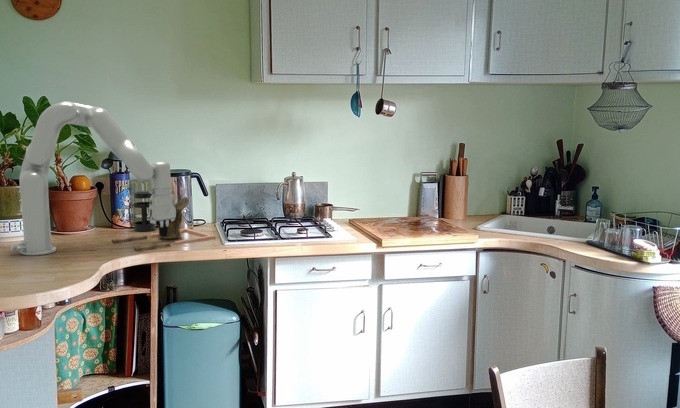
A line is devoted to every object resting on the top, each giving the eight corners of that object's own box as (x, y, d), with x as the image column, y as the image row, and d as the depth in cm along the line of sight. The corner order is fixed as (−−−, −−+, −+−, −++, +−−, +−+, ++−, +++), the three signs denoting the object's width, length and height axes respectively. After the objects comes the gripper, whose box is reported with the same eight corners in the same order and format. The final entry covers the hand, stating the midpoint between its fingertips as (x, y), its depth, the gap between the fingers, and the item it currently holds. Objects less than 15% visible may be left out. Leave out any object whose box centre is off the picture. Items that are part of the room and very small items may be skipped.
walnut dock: (137, 251, 262) (137, 248, 262) (111, 242, 278) (111, 239, 278) (170, 246, 272) (170, 243, 271) (143, 237, 287) (143, 234, 287)
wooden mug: (175, 241, 278) (177, 197, 276) (153, 236, 286) (156, 193, 284) (191, 239, 285) (194, 196, 283) (170, 234, 293) (173, 193, 291)
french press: (157, 227, 309) (155, 176, 306) (157, 231, 300) (154, 179, 297) (130, 228, 307) (128, 177, 303) (129, 232, 298) (126, 180, 294)
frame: (177, 245, 274) (177, 242, 274) (150, 236, 289) (150, 233, 289) (215, 238, 286) (215, 235, 286) (187, 230, 302) (187, 228, 301)
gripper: (149, 194, 270) (151, 240, 273) (182, 191, 280) (184, 234, 283) (140, 192, 276) (142, 237, 279) (173, 189, 286) (175, 232, 289)
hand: (163, 236), depth 281 cm, fingers closed
